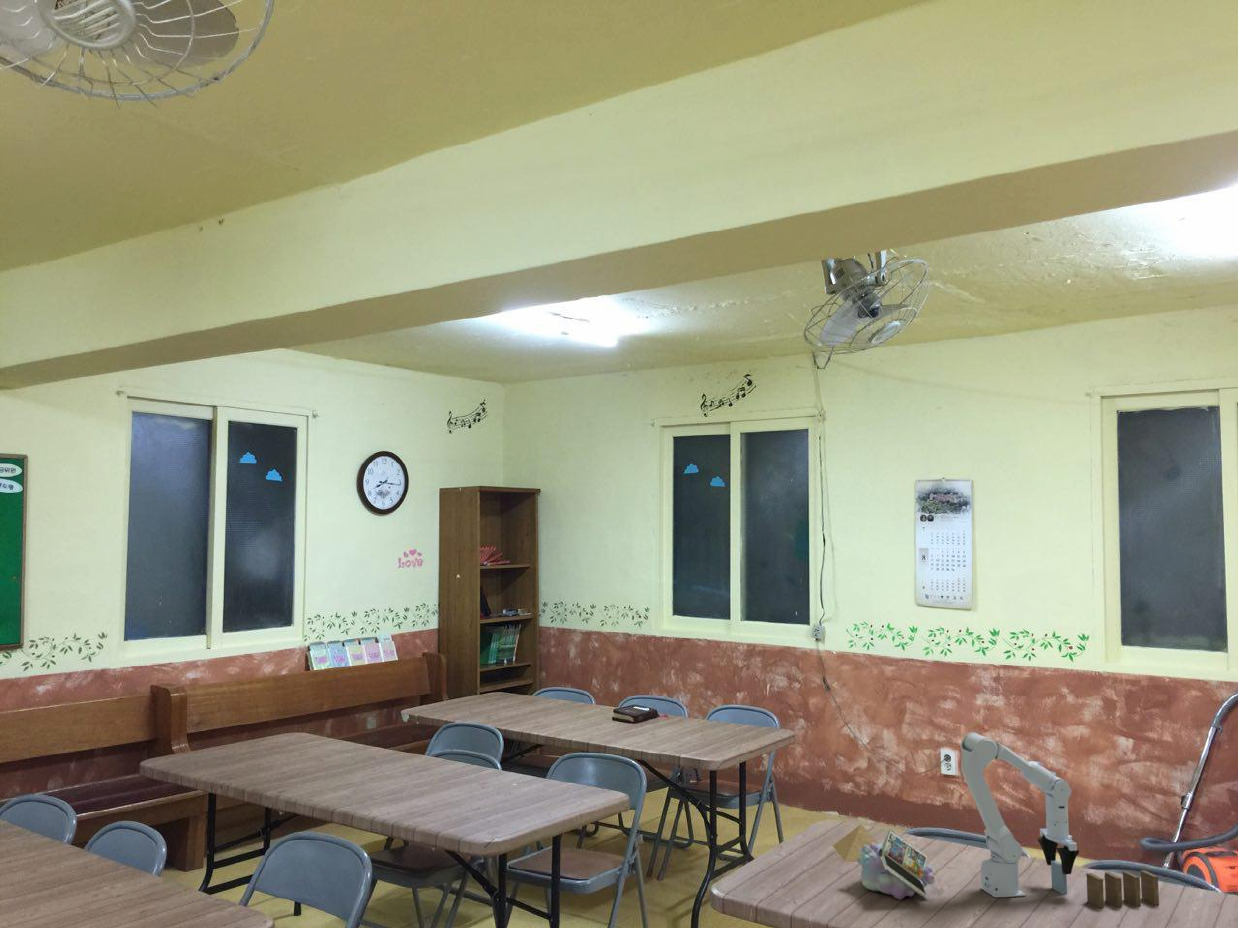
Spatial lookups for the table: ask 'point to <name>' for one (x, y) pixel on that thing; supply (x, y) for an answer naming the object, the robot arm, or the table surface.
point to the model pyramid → (853, 844)
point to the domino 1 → (1058, 878)
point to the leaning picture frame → (895, 867)
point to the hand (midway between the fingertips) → (1058, 869)
